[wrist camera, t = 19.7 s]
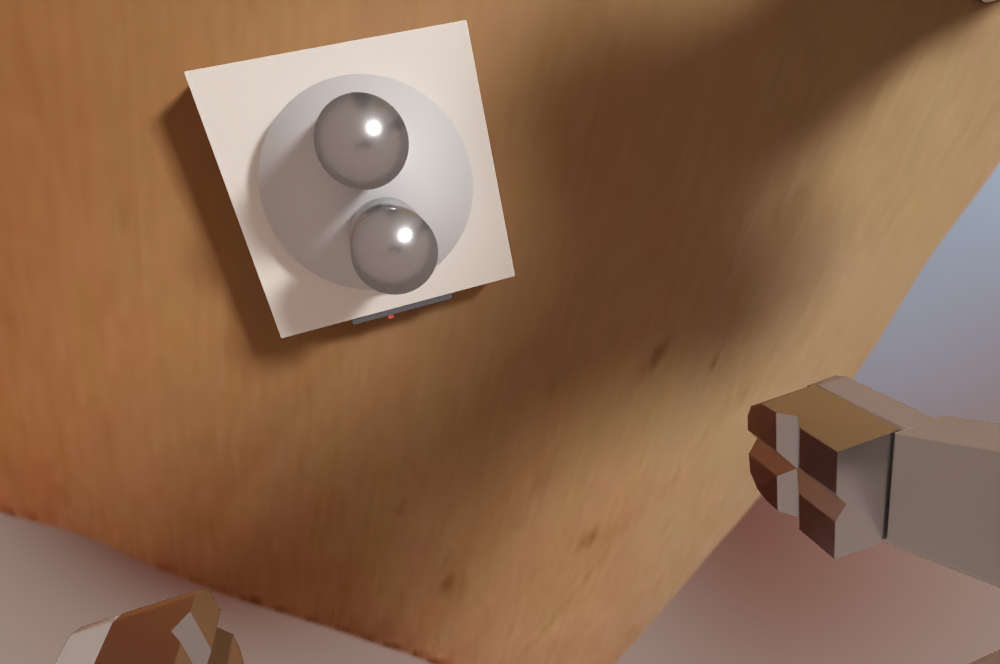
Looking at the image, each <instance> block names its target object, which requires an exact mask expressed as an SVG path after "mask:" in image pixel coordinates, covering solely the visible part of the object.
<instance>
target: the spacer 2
mask: <svg viewBox="0 0 1000 664" xmlns="http://www.w3.org/2000/svg"><path fill="white" fill-rule="evenodd" d="M349 240H350V250H351V259H352V264H353V266H354V269H355V271H356V273H357V275H358V276H359V277H360V279H361V280H362V281H363V282H364V283H365V284H366V285H368V286H369V287H371V288H372V289H374V290H376V291H378V292H381V293H384V294H391V295H398V294H405V293H408V292H411V291H414V290H416V289H417V288H419V287H420V286H422V285H423V284H424V283H425V282H426V281H427V280H428V279H429V278H430V276H431V275H432V273H433V271H434V269H435V267H436V264H437V259H438V245H437V241H436V238H435V235H434V233H433V231H432V230H431V228H430V227H429V226H428V224H427V223H426V222H425V221H424V220H423V219H422V218H421V217H420V216H419V214H418V213H417V212H416V211H415V210H414V209H413V208H412V207H411V206H410V205H408V204H407V203H405V202H403V201H402V200H399V199H396V198H391V197H380V198H376V199H372V200H370V201H368V202H366V203H365V204H363V205H362V206H361V207H360V208H359V209H358V210H357V211H356V213H355V214H354V216H353V218H352V220H351V223H350V227H349Z"/></svg>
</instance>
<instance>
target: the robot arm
mask: <svg viewBox="0 0 1000 664" xmlns="http://www.w3.org/2000/svg"><path fill="white" fill-rule="evenodd" d="M982 1H983V2H992V1H995V0H982ZM748 430H749V431H750V432H751V433H752V434H753V435H754V436H755V437H756V438H757V440H756V442H755V443H754V445H753V447H752V449H751V451H750V453H749V461H750V472H751V475H752V477H753V479H754V482H755V484H756V487H757V489H758V490H759V491H760V493H761V494H762V496H763V497H764V498H765V500H766V501H767V502H769V503H770V504H771V505H772V506H773V507H774V508H775V509H776V510H777V511H781V512H784V513H787V514H791V515H794V516H797V518H798V524H799V530H801V531H802V532H803V533H804V534H805V535H806V536H808V537H809V538H810V539H811V540H812V541H814V542H815V543H816V544H817V545H818V546H819V547H821V548H822V549H823V550H824V551H825V552H826V553H827V554H829V555H830V556H831V557H832V558H833V559H836V558H839V557H842V556H844V555H847V554H850V553H853V552H856V551H859V550H862V549H864V548H867V547H870V546H872V545H875V544H878V543H881V542H883V541H886V540H887V544H889V545H892V546H894V547H897V548H899V549H902V550H905V551H907V552H909V553H912V554H915V555H917V556H920V557H922V558H925V559H927V560H930V561H932V562H935V563H938V564H940V565H943V566H945V567H948V568H950V569H953V570H956V571H958V572H961V573H963V574H966V575H968V576H971V577H973V578H976V579H979V580H981V581H984V582H986V583H989V584H991V585H994V586H997V587H999V588H1000V424H998V423H990V422H984V421H977V420H970V419H963V418H956V417H950V416H941V417H938V418H935V419H934V418H932V417H930V416H928V415H926V414H923V413H921V412H919V411H918V410H915V409H913V408H911V407H909V406H907V405H905V404H903V403H901V402H899V401H897V400H895V399H892V398H890V397H888V396H886V395H884V394H882V393H880V392H878V391H876V390H874V389H872V388H869V387H867V386H865V385H863V384H861V383H859V382H857V381H855V380H853V379H851V378H849V377H846V376H833V377H830V378H827V379H824V380H822V381H819V382H816V383H813V384H811V385H808V386H807V387H806V388H803V389H800V390H797V391H794V392H791V393H788V394H785V395H782V396H779V397H776V398H773V399H770V400H767V401H765V402H762V403H759V404H756V405H753V406H751V408H750V411H749V414H748ZM220 611H221V610H220V608H219V606H218V604H217V603H216V601H215V599H214V597H213V596H212V594H211V592H210V591H207V590H204V589H200V590H196V591H193V592H190V593H187V594H184V595H180V596H177V597H174V598H171V599H167V600H164V601H161V602H158V603H155V604H151V605H148V606H145V607H142V608H139V609H135V610H132V611H129V612H126V613H123V614H122V615H118V616H114V617H111V618H108V619H105V620H102V621H99V622H96V623H92V624H89V625H87V626H83V627H81V628H79V629H78V630H77V631H75V632H74V633H73V634H71V635H70V636H69V638H68V640H67V642H66V644H65V645H64V647H63V649H62V651H61V653H60V655H59V657H58V659H57V661H56V662H55V664H244V662H243V658H242V655H241V651H240V648H239V646H238V644H237V642H236V640H235V638H234V635H233V634H231V633H229V632H226V631H224V630H222V629H219V628H217V623H218V619H219V615H220ZM969 664H1000V650H998V651H996V652H993V653H991V654H989V655H987V656H985V657H982V658H980V659H978V660H976V661H974V662H972V663H969Z"/></svg>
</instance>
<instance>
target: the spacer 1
mask: <svg viewBox="0 0 1000 664" xmlns="http://www.w3.org/2000/svg"><path fill="white" fill-rule="evenodd" d="M314 147H315V151H316V154H317V157H318V159H319V161H320V163H321V165H322V166H323V168H324V169H325V171H326V172H327V173H328V174H329V175H330V176H331V177H332V178H333V179H335V180H336V181H337V182H339V183H341V184H343V185H345V186H347V187H350V188H354V189H359V190H370V189H375V188H379V187H382V186H384V185H386V184H388V183H389V182H391V181H392V180H393V179H394V178H395V177H396V176H397V175H398V174H399V173H400V171H401V170H402V168H403V167H404V165H405V162H406V160H407V156H408V151H409V138H408V133H407V129H406V126H405V124H404V122H403V120H402V118H401V116H400V115H399V113H398V112H397V111H396V110H395V109H394V107H393V106H391V105H390V104H389V103H388V102H386V101H385V100H383V99H382V98H380V97H378V96H375V95H372V94H369V93H364V92H352V93H347V94H344V95H341V96H338V97H337V98H335V99H333V100H332V101H331V102H329V103H328V104H327V105H326V106H325V107H324V108H323V110H322V111H321V113H320V115H319V116H318V118H317V121H316V124H315V128H314Z"/></svg>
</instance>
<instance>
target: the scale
mask: <svg viewBox="0 0 1000 664" xmlns="http://www.w3.org/2000/svg"><path fill="white" fill-rule="evenodd" d="M184 73H185V76H186V79H187V81H188V84H189V87H190V90H191V92H192V95H193V98H194V101H195V103H196V106H197V109H198V112H199V114H200V117H201V120H202V122H203V125H204V128H205V131H206V133H207V136H208V139H209V142H210V144H211V147H212V150H213V153H214V155H215V158H216V161H217V164H218V166H219V169H220V172H221V174H222V177H223V180H224V183H225V185H226V188H227V191H228V194H229V196H230V199H231V202H232V205H233V207H234V210H235V213H236V216H237V218H238V221H239V224H240V227H241V229H242V232H243V235H244V237H245V240H246V243H247V246H248V248H249V251H250V254H251V257H252V259H253V262H254V265H255V268H256V270H257V273H258V276H259V279H260V281H261V284H262V287H263V289H264V292H265V295H266V298H267V300H268V303H269V306H270V309H271V311H272V314H273V317H274V320H275V322H276V325H277V328H278V331H279V333H280V336H281V338H285V337H288V336H292V335H296V334H300V333H303V332H307V331H311V330H315V329H318V328H322V327H326V326H330V325H333V324H337V323H341V322H344V321H348V320H352V322H353V325H355V324H359V323H362V322H366V321H370V320H373V319H377V318H381V317H385V316H388V317H389V319H391V318H394V316H393V314H396V313H399V312H403V311H407V310H411V309H414V308H418V307H422V306H425V305H429V304H433V303H437V302H440V301H444V300H448V299H452V294H451V293H453V292H457V291H461V290H464V289H468V288H472V287H476V286H479V285H483V284H487V283H491V282H494V281H498V280H502V279H506V278H509V277H513V276H515V273H514V268H513V263H512V257H511V252H510V247H509V241H508V236H507V231H506V226H505V220H504V215H503V210H502V205H501V199H500V194H499V189H498V184H497V178H496V173H495V168H494V163H493V157H492V152H491V147H490V142H489V136H488V131H487V126H486V121H485V115H484V110H483V105H482V100H481V94H480V89H479V84H478V79H477V73H476V68H475V63H474V57H473V52H472V47H471V42H470V36H469V31H468V26H467V21H466V20H464V21H458V22H453V23H447V24H442V25H436V26H431V27H426V28H420V29H415V30H409V31H404V32H398V33H393V34H387V35H382V36H376V37H371V38H365V39H360V40H355V41H349V42H344V43H338V44H333V45H327V46H322V47H316V48H311V49H305V50H300V51H295V52H289V53H284V54H278V55H273V56H267V57H262V58H256V59H251V60H245V61H240V62H235V63H229V64H224V65H218V66H213V67H207V68H202V69H196V70H191V71H185V72H184ZM352 92H364V93H369V94H372V95H375V96H378V97H380V98H382V99H383V100H385V101H386V102H388V103H389V104H390V105H391V106H393V107H394V109H395V110H396V111H397V112H398V113H399V115H400V116H401V118H402V120H403V122H404V124H405V126H406V129H407V133H408V138H409V151H408V156H407V160H406V162H405V165H404V167H403V168H402V170H401V171H400V173H399V174H398V175H397V176H396V177H395V178H394V179H393V180H392V181H391V182H389V183H388V184H386V185H384V186H382V187H379V188H375V189H370V190H359V189H354V188H350V187H347V186H345V185H343V184H341V183H339V182H337V181H336V180H335V179H333V178H332V177H331V176H330V175H329V174H328V173H327V172H326V171H325V169H324V168H323V166H322V165H321V163H320V161H319V159H318V157H317V154H316V151H315V147H314V128H315V124H316V121H317V118H318V116H319V115H320V113H321V111H322V110H323V108H324V107H325V106H326V105H327V104H328V103H329V102H331V101H332V100H333V99H335V98H337V97H338V96H341V95H344V94H347V93H352ZM380 197H391V198H396V199H399V200H402V201H403V202H405V203H407V204H408V205H410V206H411V207H412V208H413V209H414V210H415V211H416V212H417V213H418V214H419V216H420V217H421V218H422V219H423V220H424V221H425V222H426V223H427V224H428V226H429V227H430V228H431V230H432V231H433V233H434V235H435V238H436V241H437V245H438V259H437V264H436V267H435V269H434V271H433V273H432V275H431V276H430V278H429V279H428V280H427V281H426V282H425V283H424V284H423V285H422V286H420V287H419V288H417V289H416V290H414V291H411V292H408V293H405V294H398V295H391V294H384V293H381V292H378V291H376V290H374V289H372V288H371V287H369V286H368V285H366V284H365V283H364V282H363V281H362V280H361V279H360V277H359V276H358V275H357V273H356V271H355V269H354V266H353V264H352V259H351V250H350V240H349V227H350V223H351V220H352V218H353V216H354V214H355V213H356V211H357V210H358V209H359V208H360V207H361V206H362V205H363V204H365V203H366V202H368V201H370V200H372V199H376V198H380Z"/></svg>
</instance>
